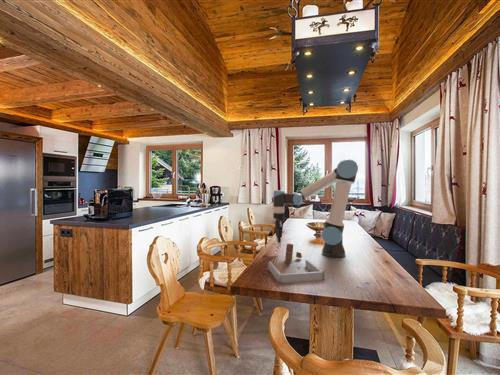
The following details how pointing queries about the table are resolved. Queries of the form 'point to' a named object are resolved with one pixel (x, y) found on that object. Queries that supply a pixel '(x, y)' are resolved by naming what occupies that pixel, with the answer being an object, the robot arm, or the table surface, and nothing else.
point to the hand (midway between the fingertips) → (278, 246)
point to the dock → (298, 274)
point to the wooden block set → (290, 253)
